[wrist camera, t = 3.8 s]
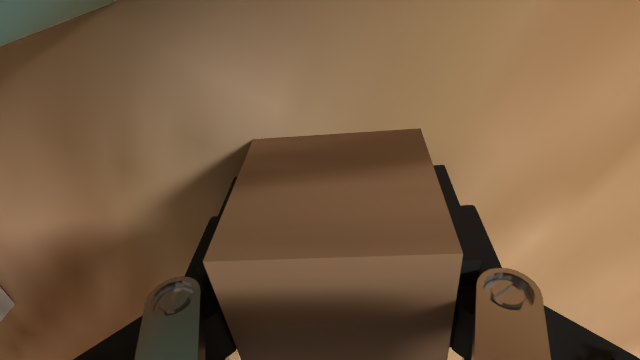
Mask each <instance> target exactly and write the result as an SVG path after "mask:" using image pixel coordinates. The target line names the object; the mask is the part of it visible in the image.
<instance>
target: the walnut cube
mask: <svg viewBox="0 0 640 360" xmlns="http://www.w3.org/2000/svg"><path fill="white" fill-rule="evenodd" d="M462 258H463V252H462V249H461V246H460V243H459V240H458V237H457V234H456V231H455V228H454V225H453V222H452V219H451V217H450V214H449V211H448V208H447V205H446V202H445V199H444V196H443V193H442V190H441V187H440V184H439V181H438V179H437V176H436V173H435V170H434V167H433V164H432V161H431V158H430V155H429V152H428V149H427V146H426V143H425V140H424V138H423V135H422V132H421V129H406V130H391V131H376V132H360V133H345V134H329V135H314V136H298V137H283V138H267V139H253V141H252V143H251V146H250V148H249V151H248V153H247V155H246V158H245V160H244V163H243V165H242V168H241V170H240V172H239V175H238V177H237V180H236V182H235V185H234V187H233V189H232V192H231V194H230V197H229V199H228V202H227V204H226V206H225V209H224V211H223V214H222V216H221V219H220V221H219V223H218V226H217V228H216V231H215V233H214V236H213V238H212V240H211V243H210V245H209V248H208V250H207V253H206V255H205V257H204V260H203V264H204V266H205V269H206V271H207V274H208V276H209V279H210V282H211V284H212V287H213V289H214V292H215V294H216V297H217V299H218V302H219V304H220V307H221V309H222V312H223V314H224V317H225V320H226V322H227V325H228V327H229V330H230V332H231V335H232V337H233V340H234V342H235V345H236V347H237V350H238V352H239V355H240V358H241V360H447V357H448V350H449V344H450V337H451V331H452V324H453V317H454V311H455V304H456V298H457V291H458V285H459V278H460V271H461V265H462Z"/></svg>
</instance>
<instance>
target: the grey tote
mask: <svg viewBox="0 0 640 360" xmlns="http://www.w3.org/2000/svg"><path fill="white" fill-rule="evenodd" d="M14 305H15V303H14V302H13V301H12V300H11V299H10V298H9V296H8V295H7V294H6V293H5V292H4V291H3V290H2V288H1V287H0V322H1V321H2V320H3V318H4V317H5V316H6V315H7V314H8V312H9V311H10V310H11V309H12V308H13V307H14Z"/></svg>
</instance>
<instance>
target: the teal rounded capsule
mask: <svg viewBox="0 0 640 360" xmlns="http://www.w3.org/2000/svg"><path fill="white" fill-rule="evenodd" d="M115 1H117V0H0V47H1V46H3V45H6V44H9V43H11V42H14V41H16V40H19V39H21V38H24V37H27V36H29V35H32V34H34V33H37V32H40V31H42V30H45V29H47V28H50V27H52V26H55V25H58V24H60V23H63V22H65V21H68V20H71V19H73V18H76V17H78V16H81V15H83V14H86V13H89V12H91V11H94V10H96V9H99V8H102V7H104V6H107V5H109V4H111V3H113V2H115Z"/></svg>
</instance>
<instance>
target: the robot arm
mask: <svg viewBox="0 0 640 360" xmlns="http://www.w3.org/2000/svg"><path fill="white" fill-rule="evenodd" d="M433 167H434V170H435V173H436V176H437V179H438V181H439V184H440V187H441V190H442V193H443V196H444V199H445V202H446V205H447V208H448V211H449V214H450V217H451V219H452V222H453V225H454V228H455V231H456V234H457V237H458V240H459V243H460V246H461V249H462V252H463V258H462V265H461V271H460V278H459V285H458V291H457V298H456V304H455V311H454V317H453V324H452V331H451V337H450V344H449V347H452V350H453V351H455V352H456V353H458V354H459V355H460V356H462V357H463V358H462V360H640V359H639V358H637V357H636V356H634V355H632V354H631V353H629V352H627V351H625V350H623V349H622V348H620V347H618V346H616V345H614V344H613V343H611V342H609V341H607V340H605V339H604V338H602V337H600V336H598V335H596V334H595V333H593V332H591V331H589V330H587V329H586V328H584V327H582V326H580V325H578V324H577V323H575V322H573V321H571V320H569V319H568V318H566V317H564V316H562V315H560V314H559V313H557V312H555V311H553V310H551V309H550V308H548V307H546V306H544V304H543V297H542V294H541V291H540V289H539V287H538V286H537V285H536V283H535V282H534V281H533V280H531V279H530V278H529V277H527V276H526V275H524V274H522V273H520V272H518V271H515V270H511V269H508V268H502V267H501V265H500V262H499V260H498V258H497V256H496V253H495V251H494V249H493V246H492V244H491V242H490V240H489V237H488V235H487V233H486V230H485V228H484V226H483V224H482V221H481V219H480V217H479V214H478V212H477V210H476V208H475V206H473V205H463V206H460V204H459V202H458V199H457V197H456V194H455V191H454V189H453V186H452V184H451V181H450V178H449V176H448V173H447V171H446V168H445V166H444V165H436V166H433ZM237 177H238V176H236V177H235V178H234V180H233V182H232V184H231V187H230V189H229V192H228V194H227V196H226V199H225V201H224V203H223V206H222V208H221V210H220V213H219V215H218V216H214V217H212V218H211V219H210V221H209V223H208V225H207V227H206V229H205V232H204V234H203V236H202V238H201V241H200V243H199V245H198V247H197V250H196V252H195V254H194V256H193V259H192V261H191V263H190V265H189V268H188V270H187V272H186V274H185V277H184V276H183V277H175V278H172V279H169V280H167V281H165V282H163V283H161V284H160V285H158V286H157V287H156V288H155V289H154V290H153V291H152V292H151V293H150V295H149V296H148V297H147V300H146V303H145V306H144V312H143V316H141V317H140V318H138V319H136V320H135V321H133V322H132V323H130V324H129V325H127V326H125V327H124V328H122V329H121V330H119V331H118V332H116V333H114V334H113V335H111V336H110V337H108V338H107V339H105V340H103V341H102V342H100V343H99V344H97V345H95V346H94V347H92V348H91V349H89V350H88V351H86V352H84V353H83V354H81V355H80V356H78V357H77V358H75V359H74V360H229V355H231V354H232V353H233V352H235V351H236V349H237V347H236V345H235V342H234V340H233V337H232V335H231V332H230V330H229V327H228V325H227V322H226V320H225V317H224V314H223V312H222V309H221V307H220V304H219V302H218V299H217V297H216V294H215V292H214V289H213V287H212V284H211V282H210V279H209V276H208V274H207V271H206V269H205V266H204V264H203V260H204V257H205V255H206V253H207V250H208V248H209V245H210V243H211V240H212V238H213V236H214V233H215V231H216V228H217V226H218V223H219V221H220V219H221V216H222V214H223V211H224V209H225V206H226V204H227V202H228V199H229V197H230V194H231V192H232V189H233V187H234V185H235V182H236V180H237Z"/></svg>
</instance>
